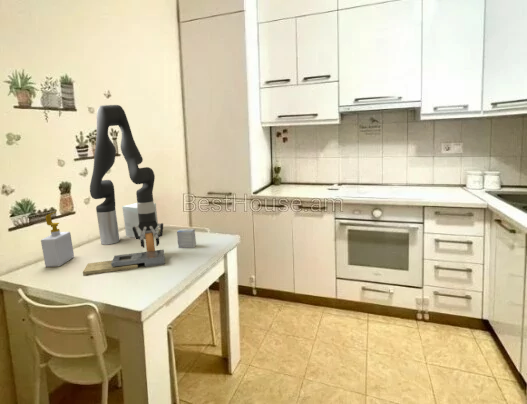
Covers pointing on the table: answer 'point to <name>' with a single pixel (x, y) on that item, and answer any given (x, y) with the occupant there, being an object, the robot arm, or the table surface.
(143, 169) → the robot arm
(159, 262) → the wooden plank with frame
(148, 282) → the table surface
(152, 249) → the pin
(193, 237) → the medicine box
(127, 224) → the supplement box
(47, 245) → the soap bottle
